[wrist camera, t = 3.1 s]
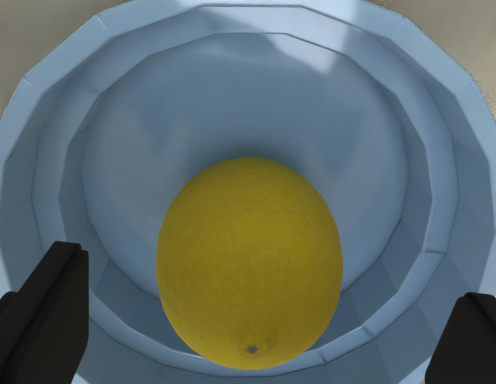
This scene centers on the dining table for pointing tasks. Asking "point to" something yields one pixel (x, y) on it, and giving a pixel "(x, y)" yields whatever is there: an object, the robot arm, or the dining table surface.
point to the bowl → (255, 146)
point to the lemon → (249, 264)
